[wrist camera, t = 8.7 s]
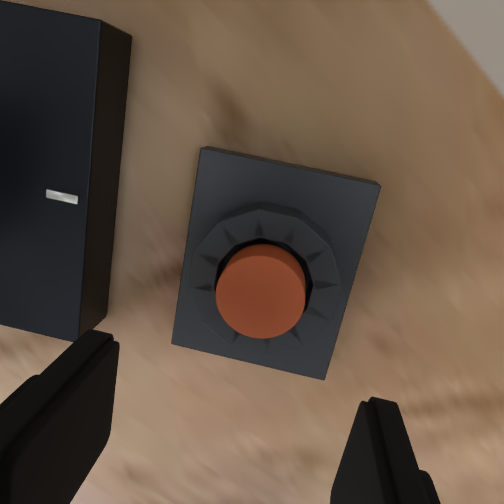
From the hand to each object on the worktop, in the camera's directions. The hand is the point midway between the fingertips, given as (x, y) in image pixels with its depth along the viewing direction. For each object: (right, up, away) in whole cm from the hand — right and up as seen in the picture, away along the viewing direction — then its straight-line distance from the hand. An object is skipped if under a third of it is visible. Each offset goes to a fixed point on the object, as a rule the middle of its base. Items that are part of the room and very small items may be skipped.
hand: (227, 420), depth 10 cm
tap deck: (-12, +8, +11) cm, 18 cm away
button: (+1, +3, +8) cm, 9 cm away
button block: (+1, +3, +11) cm, 12 cm away
